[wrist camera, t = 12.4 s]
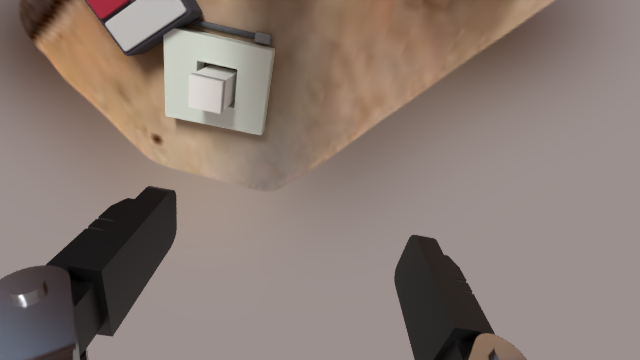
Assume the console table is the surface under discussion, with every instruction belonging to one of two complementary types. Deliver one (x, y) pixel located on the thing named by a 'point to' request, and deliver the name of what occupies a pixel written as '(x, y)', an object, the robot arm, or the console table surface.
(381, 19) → the console table surface
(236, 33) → the cable
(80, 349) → the robot arm
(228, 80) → the white rectangular block
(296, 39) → the console table surface
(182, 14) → the dark grey product box
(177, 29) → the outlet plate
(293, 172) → the console table surface
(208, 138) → the console table surface
